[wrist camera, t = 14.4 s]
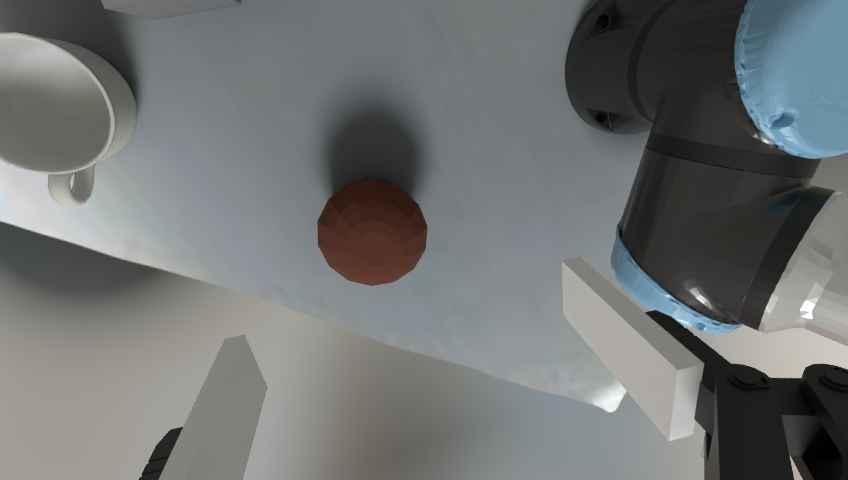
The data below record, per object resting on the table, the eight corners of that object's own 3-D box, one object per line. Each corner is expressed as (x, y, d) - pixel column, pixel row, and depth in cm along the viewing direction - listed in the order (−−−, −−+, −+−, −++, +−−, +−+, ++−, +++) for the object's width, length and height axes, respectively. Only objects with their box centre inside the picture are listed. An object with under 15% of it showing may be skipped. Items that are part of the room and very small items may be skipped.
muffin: (304, 187, 45) (291, 217, 36) (395, 150, 45) (406, 171, 36) (348, 272, 50) (347, 318, 41) (431, 239, 50) (448, 277, 41)
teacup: (19, 21, 36) (-67, 10, 28) (156, 58, 38) (110, 56, 31) (29, 172, 40) (-41, 196, 33) (151, 196, 43) (110, 222, 36)
